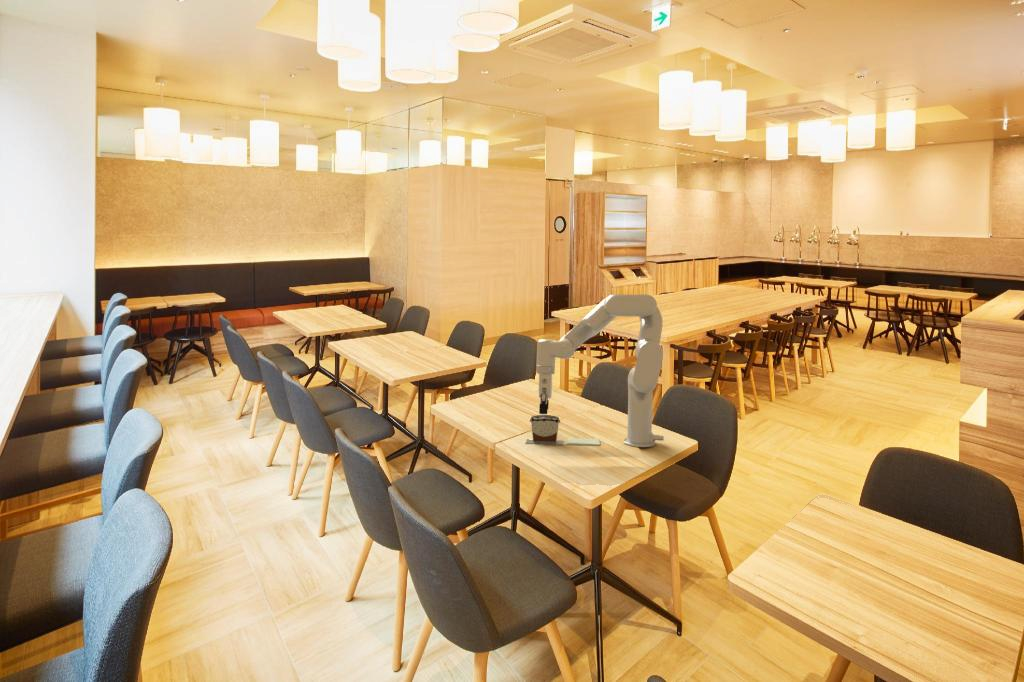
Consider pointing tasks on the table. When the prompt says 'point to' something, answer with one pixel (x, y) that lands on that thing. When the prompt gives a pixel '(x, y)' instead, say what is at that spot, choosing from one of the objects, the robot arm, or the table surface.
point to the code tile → (558, 442)
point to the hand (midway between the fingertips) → (543, 411)
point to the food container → (544, 428)
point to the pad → (583, 441)
